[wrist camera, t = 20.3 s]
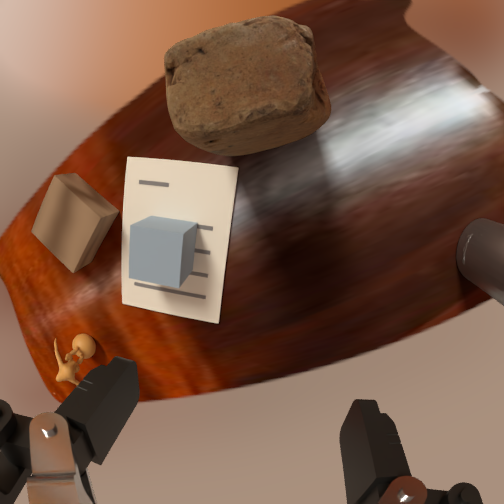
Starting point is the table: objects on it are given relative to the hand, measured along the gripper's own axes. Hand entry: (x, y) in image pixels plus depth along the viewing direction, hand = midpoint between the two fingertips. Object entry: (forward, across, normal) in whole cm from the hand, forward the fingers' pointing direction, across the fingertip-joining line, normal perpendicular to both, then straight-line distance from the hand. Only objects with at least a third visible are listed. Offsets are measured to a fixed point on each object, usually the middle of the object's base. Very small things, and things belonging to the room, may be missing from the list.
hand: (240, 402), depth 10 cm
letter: (+27, +12, +2) cm, 30 cm away
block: (+27, +3, -13) cm, 31 cm away
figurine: (+27, +25, +20) cm, 42 cm away
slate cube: (+26, +12, +2) cm, 29 cm away
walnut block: (+26, +26, +1) cm, 37 cm away
